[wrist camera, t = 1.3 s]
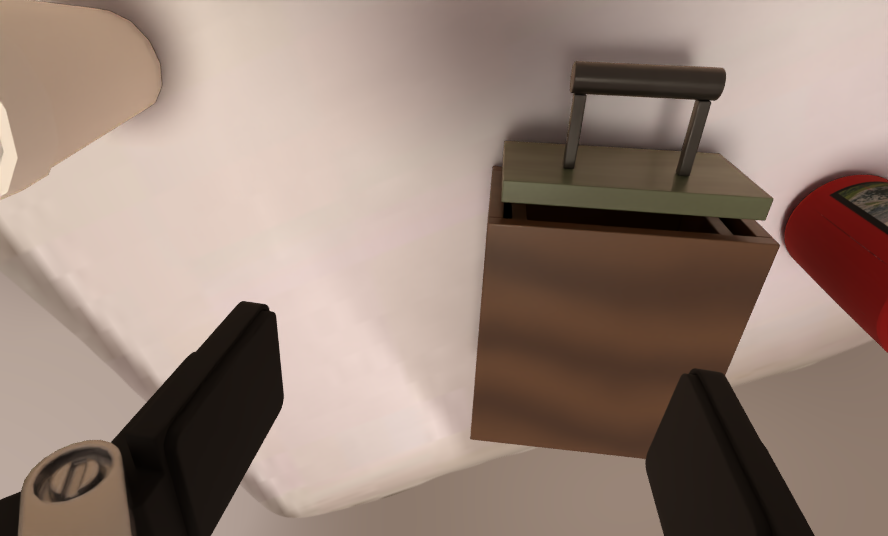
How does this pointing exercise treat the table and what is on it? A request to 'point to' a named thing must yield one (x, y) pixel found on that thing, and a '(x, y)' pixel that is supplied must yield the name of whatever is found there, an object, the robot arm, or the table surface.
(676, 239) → the cabinet
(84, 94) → the foam cup
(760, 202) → the drawer
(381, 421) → the table surface
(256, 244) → the table surface
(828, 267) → the beverage can
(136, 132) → the table surface
